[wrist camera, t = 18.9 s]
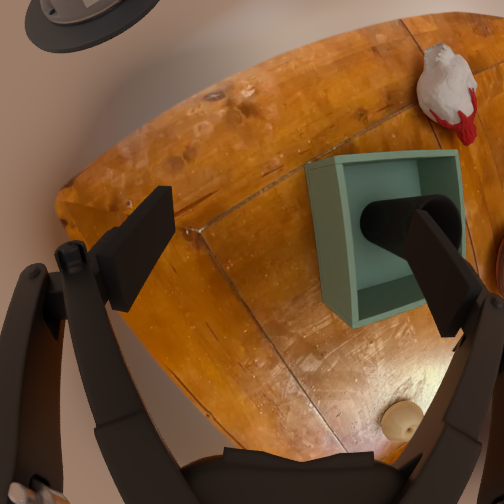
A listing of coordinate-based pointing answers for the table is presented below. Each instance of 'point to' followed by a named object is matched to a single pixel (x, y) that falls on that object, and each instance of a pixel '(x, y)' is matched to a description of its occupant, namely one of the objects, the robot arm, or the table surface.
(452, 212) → the cup
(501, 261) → the bowl
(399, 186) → the open storage box
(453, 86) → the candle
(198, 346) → the table surface
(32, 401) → the robot arm
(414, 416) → the apple
